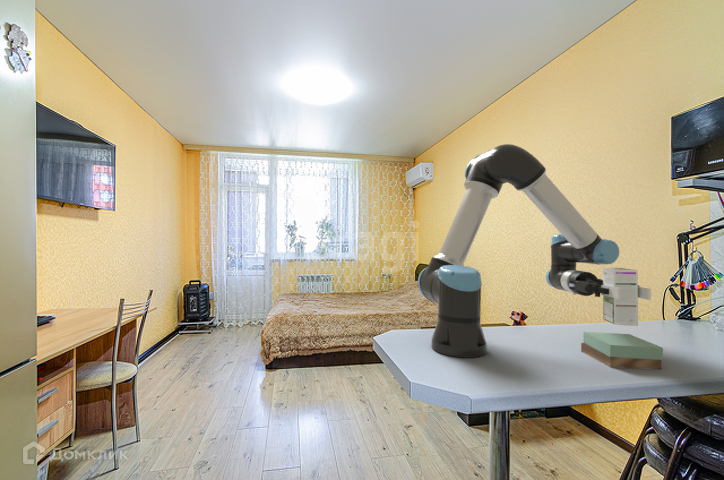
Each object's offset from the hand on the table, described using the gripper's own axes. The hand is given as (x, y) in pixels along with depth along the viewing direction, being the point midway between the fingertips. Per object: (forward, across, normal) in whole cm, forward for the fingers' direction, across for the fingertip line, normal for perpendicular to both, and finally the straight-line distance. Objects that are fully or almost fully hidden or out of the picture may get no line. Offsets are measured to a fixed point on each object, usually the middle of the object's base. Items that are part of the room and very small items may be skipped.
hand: (634, 293), depth 83 cm
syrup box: (-5, 0, -9) cm, 10 cm away
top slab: (-5, 0, -16) cm, 17 cm away
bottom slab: (-5, 0, -19) cm, 19 cm away
